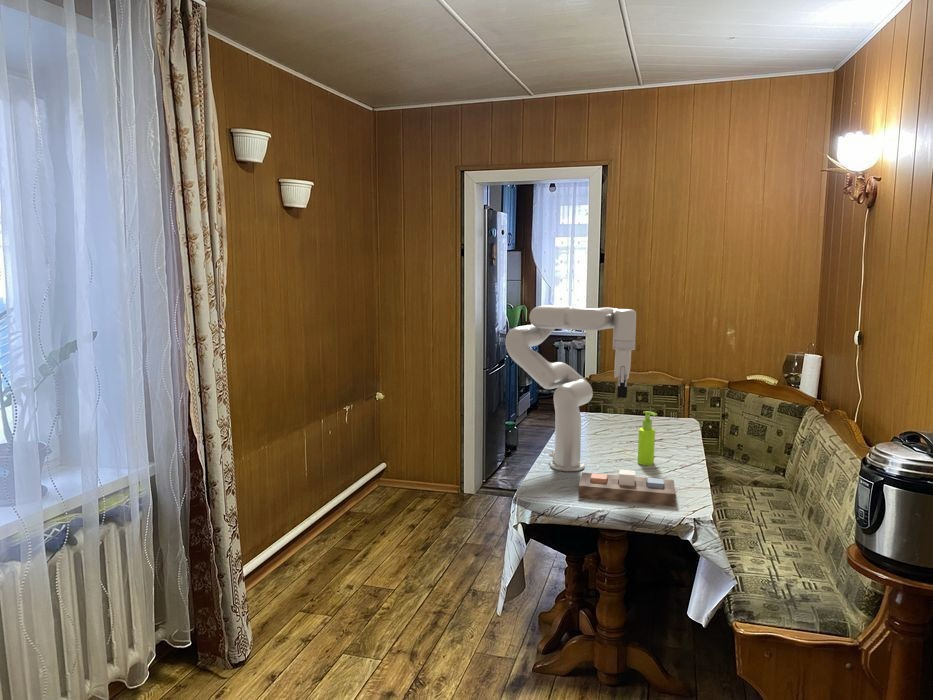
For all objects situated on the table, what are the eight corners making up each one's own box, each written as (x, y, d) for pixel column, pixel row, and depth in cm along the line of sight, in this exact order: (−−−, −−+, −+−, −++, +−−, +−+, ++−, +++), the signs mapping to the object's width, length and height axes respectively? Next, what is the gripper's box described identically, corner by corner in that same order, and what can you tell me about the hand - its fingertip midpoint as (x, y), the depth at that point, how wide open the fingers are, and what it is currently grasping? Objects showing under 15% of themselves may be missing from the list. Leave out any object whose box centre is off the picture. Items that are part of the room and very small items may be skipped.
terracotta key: (590, 489, 219) (590, 477, 219) (591, 484, 224) (591, 473, 224) (606, 490, 218) (606, 479, 218) (606, 486, 223) (607, 474, 222)
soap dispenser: (649, 466, 249) (651, 414, 246) (634, 462, 254) (636, 411, 252) (659, 464, 252) (661, 412, 250) (644, 459, 258) (646, 409, 255)
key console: (578, 497, 216) (578, 485, 216) (582, 483, 230) (582, 472, 229) (675, 506, 209) (675, 494, 208) (673, 491, 222) (673, 480, 222)
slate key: (647, 494, 215) (647, 482, 214) (647, 489, 220) (647, 477, 219) (663, 495, 214) (663, 483, 213) (662, 490, 218) (663, 479, 218)
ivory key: (618, 486, 217) (619, 474, 216) (619, 481, 222) (619, 469, 221) (634, 487, 216) (635, 475, 215) (634, 482, 220) (635, 470, 220)
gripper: (613, 342, 238) (611, 392, 240) (611, 347, 224) (610, 401, 226) (635, 342, 236) (633, 393, 238) (634, 348, 222) (632, 402, 224)
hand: (622, 397), depth 232 cm, fingers closed
